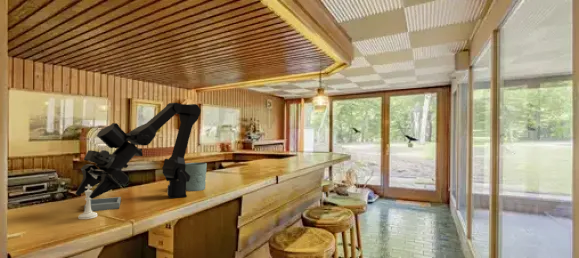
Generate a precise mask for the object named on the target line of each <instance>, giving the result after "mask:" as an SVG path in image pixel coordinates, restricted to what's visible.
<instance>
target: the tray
mask: <svg viewBox="0 0 579 258" xmlns="http://www.w3.org/2000/svg"><path fill="white" fill-rule="evenodd" d="M121 202H122V196H115V197H105V198H104V197H103V198H101V197H100V198H93V199H91V200H90V203H91V210H92V212H97V211H99V210H100V211H108V210H109V209H110V210H118V209H120V206H121V204H122V203H121ZM85 207H86V203H85V204H84V207H83V208H84V209H83V212H84V211H85ZM107 209H108V210H107ZM110 210H109V211H110Z"/></svg>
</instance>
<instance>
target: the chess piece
mask: <svg viewBox="0 0 579 258" xmlns="http://www.w3.org/2000/svg"><path fill="white" fill-rule="evenodd" d="M85 188H88V190H86V191H85V192H84V194H85V198H84V201H86V203H85V204H86V207H85V211H84V210H83V212H82V213H80V214H79V215H78V217H77V219H79V220H91V219H94V218H97V217H98V213H97V211H92V210H91V203H90V200H91V198H90V197H89V196H90V195H91V193H92V192H93V190H91V189H92V188H93V187H92V186H90V185H88V187H85Z"/></svg>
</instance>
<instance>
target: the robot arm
mask: <svg viewBox="0 0 579 258" xmlns="http://www.w3.org/2000/svg"><path fill="white" fill-rule="evenodd" d="M201 111H202V110H201V108H200V106H199V105H198V104H197V103H189V104H185V103H184V104H183V103H179V102H169V103H168V104H166V106H165V107H163V108H162V109H161V110H160V111H159V112H158V113H156V114H155V115H154V116H153V117H152V118H150V120H148V121H147V122H146V123H144V124H141V125H139V126H137V127H135V128H134V129H132V130H130V131H129V132H128V133H126V132H125V131H124V130H123V129H122V128H121V127H120V125H119V124H118V122H114V123H113V122H112V123H111V124H110V125H108V126H106V127H103V128H102V129H100V130H99V131H98V133H97V134H96V136H97V138H99V139H100V140H101V142H103V144H105V145H106V146H107V147H108V148H110V149H115V150H114V151H113V152H112V153H110V151H108V150H105V149H102V150H101V151H97V150H90V149H89V150H88V151H87V152H86V155H85V156H84V158H83V160H84V161H85V162H92V163H94V164H89V163H88V164H84V165H83V166H82V167H81V168H80V170H81V173H82V175H83V176H82V177H83V178H82V180H81V182H80V184H79V186H78V188H77V190H76V192H75V195H76V196H80V195H82V194H85V191H86V190H88V188H85V187H88V185H90V186H92V188H93V187H95V188H94V189H93V190H92V193H91V195H90V196H89V197H90V198H91V199H96V198H97V197H99V196H101V195H104V194H105V193H107V192H110V191H111V190H114V189H116V188H120V187H121V186H126V185H127V183H129V181H130V177H129V175H127V174H126V173H125V171H123V168H124V169H127V168H129V165H128V163H130V161H131V160H132V159H133V158H134V157H143V155H144V154H143V149H142V148H139V147H137V146H145V147H146V146H149V144H151V143H152V142H153V140H154V139H155V137H156V136H157V132H158V131H159V129H161V128H162V127H163V126H164V125H165V124H167V122H169V121H170V120H171V119H172V118H173V117H174V116H175V115H178V116H179V121H180V123H179V128H178V131H177V134H176V138H175V142H174V145H173V149H172V153H171V156H170V157H169V158H165V159H164V161H163V166H162V167H161V169H162V174H163V176H164V178H165V181H166V182H168V185H167V196H168V197H169V199H177V198H186V197H187V190H186V182H189V180H190V175H189V174H188V173H187V172H186V171H185V168H186V160H185V156H186V151H187V148H188V145H189V140H190V137H191V133H192V129H193V125H194V124H195V123H196V122H197V121H198V120H199V117H200V115H201Z"/></svg>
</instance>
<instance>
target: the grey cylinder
mask: <svg viewBox="0 0 579 258" xmlns="http://www.w3.org/2000/svg"><path fill="white" fill-rule="evenodd" d="M185 164H186V168H185V171H186V172H187V173H188V174H189V175H190V180H189V182H186V192H187V191H188V192H200V191H205V190H206V184H207V182H206V180H207V179H206V178H207V168H208V167H207V164H208V163H207V162H189V163H188V162H187V163H186V162H185Z"/></svg>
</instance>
